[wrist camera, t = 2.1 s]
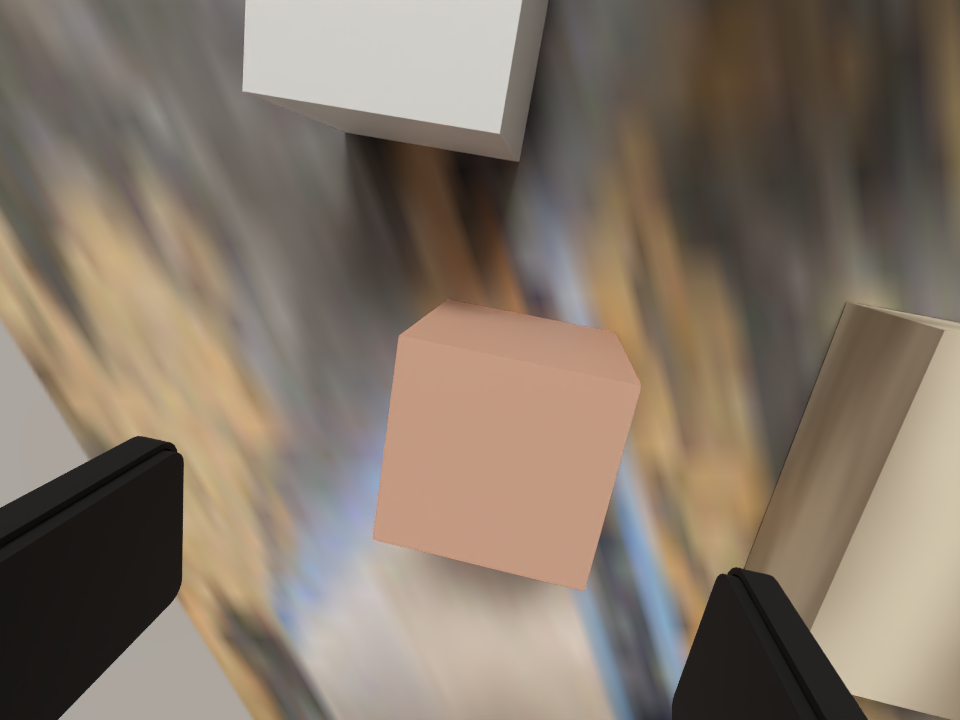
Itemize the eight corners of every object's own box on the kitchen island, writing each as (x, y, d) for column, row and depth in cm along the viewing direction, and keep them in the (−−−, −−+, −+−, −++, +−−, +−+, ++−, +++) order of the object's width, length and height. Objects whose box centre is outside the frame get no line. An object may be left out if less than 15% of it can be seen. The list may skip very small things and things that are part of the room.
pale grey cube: (558, -52, 14) (558, -215, 9) (519, 162, 16) (500, 133, 10) (364, -77, 14) (254, -245, 9) (346, 132, 16) (242, 91, 11)
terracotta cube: (615, 331, 16) (641, 385, 11) (576, 482, 18) (584, 591, 13) (448, 298, 17) (399, 335, 12) (425, 448, 19) (372, 539, 13)
